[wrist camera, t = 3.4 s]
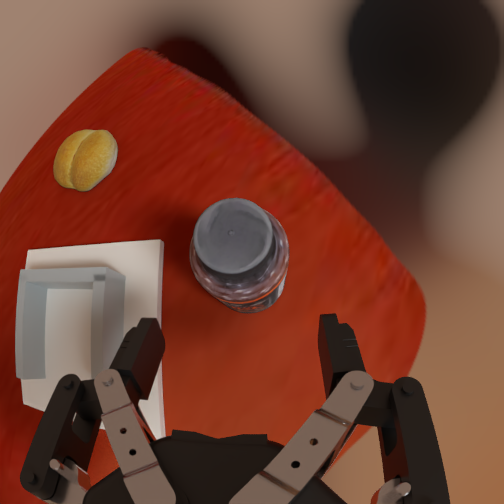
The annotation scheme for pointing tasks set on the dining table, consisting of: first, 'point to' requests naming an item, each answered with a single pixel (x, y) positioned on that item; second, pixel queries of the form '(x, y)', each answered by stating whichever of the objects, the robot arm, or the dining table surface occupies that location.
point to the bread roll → (85, 159)
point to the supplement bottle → (240, 255)
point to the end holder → (85, 315)
